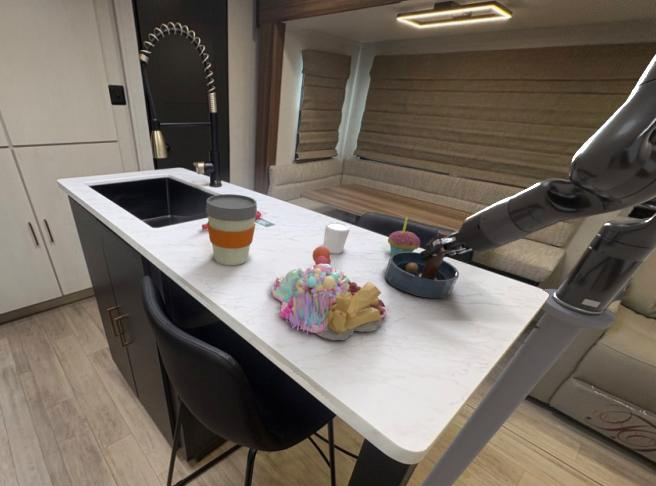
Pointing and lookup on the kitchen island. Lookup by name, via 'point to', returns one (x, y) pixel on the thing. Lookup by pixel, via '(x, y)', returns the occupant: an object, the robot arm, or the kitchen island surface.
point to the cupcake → (403, 240)
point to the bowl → (417, 284)
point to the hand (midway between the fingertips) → (428, 256)
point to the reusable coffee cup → (231, 227)
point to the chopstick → (204, 226)
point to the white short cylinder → (335, 237)
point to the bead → (411, 268)
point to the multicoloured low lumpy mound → (328, 300)
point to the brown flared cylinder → (434, 262)
